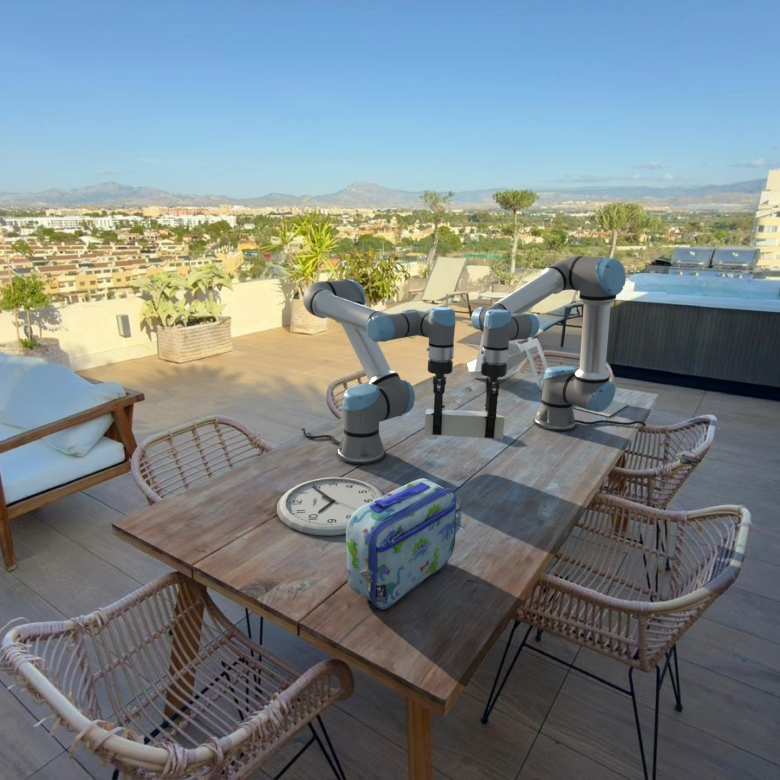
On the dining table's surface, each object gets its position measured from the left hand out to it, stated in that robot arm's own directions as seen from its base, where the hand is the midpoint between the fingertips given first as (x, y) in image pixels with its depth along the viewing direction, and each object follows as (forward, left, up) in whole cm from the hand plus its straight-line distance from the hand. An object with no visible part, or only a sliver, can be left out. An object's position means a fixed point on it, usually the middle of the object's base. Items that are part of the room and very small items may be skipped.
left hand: (437, 431), depth 165 cm
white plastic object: (-11, +101, -12) cm, 103 cm away
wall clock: (-12, -39, -12) cm, 42 cm away
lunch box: (+19, -56, -12) cm, 60 cm away
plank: (+8, +3, 0) cm, 8 cm away
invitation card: (+35, +91, -12) cm, 98 cm away
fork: (+17, -26, -12) cm, 34 cm away
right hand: (+15, +7, 0) cm, 16 cm away
